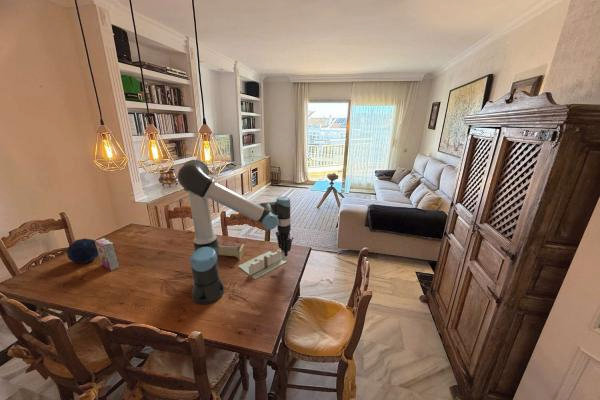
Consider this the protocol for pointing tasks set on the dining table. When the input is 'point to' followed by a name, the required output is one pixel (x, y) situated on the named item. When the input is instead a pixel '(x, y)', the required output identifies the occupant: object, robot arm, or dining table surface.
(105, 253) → the candy bar box
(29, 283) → the dining table surface
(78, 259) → the decorative orb
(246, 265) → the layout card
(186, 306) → the dining table surface
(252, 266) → the fence fixed panel
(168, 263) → the dining table surface
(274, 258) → the fence hinged panel
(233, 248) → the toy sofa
